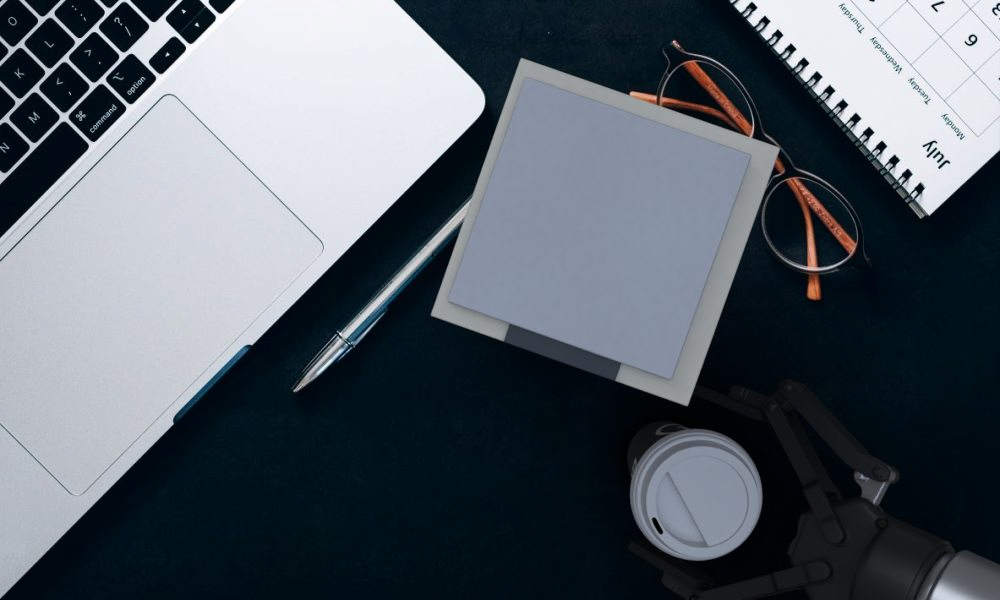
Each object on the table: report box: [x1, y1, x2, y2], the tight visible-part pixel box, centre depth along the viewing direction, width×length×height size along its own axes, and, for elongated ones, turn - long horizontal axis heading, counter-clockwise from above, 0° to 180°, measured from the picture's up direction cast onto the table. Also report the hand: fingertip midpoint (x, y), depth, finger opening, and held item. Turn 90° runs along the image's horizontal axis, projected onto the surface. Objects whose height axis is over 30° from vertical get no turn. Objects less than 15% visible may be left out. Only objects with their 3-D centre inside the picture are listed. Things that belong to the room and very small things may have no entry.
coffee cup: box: [626, 420, 763, 562], centre depth 64 cm, size 10×10×15 cm
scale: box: [430, 57, 781, 407], centre depth 42 cm, size 14×14×3 cm
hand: (666, 466), depth 66 cm, fingers open, 13 cm apart
